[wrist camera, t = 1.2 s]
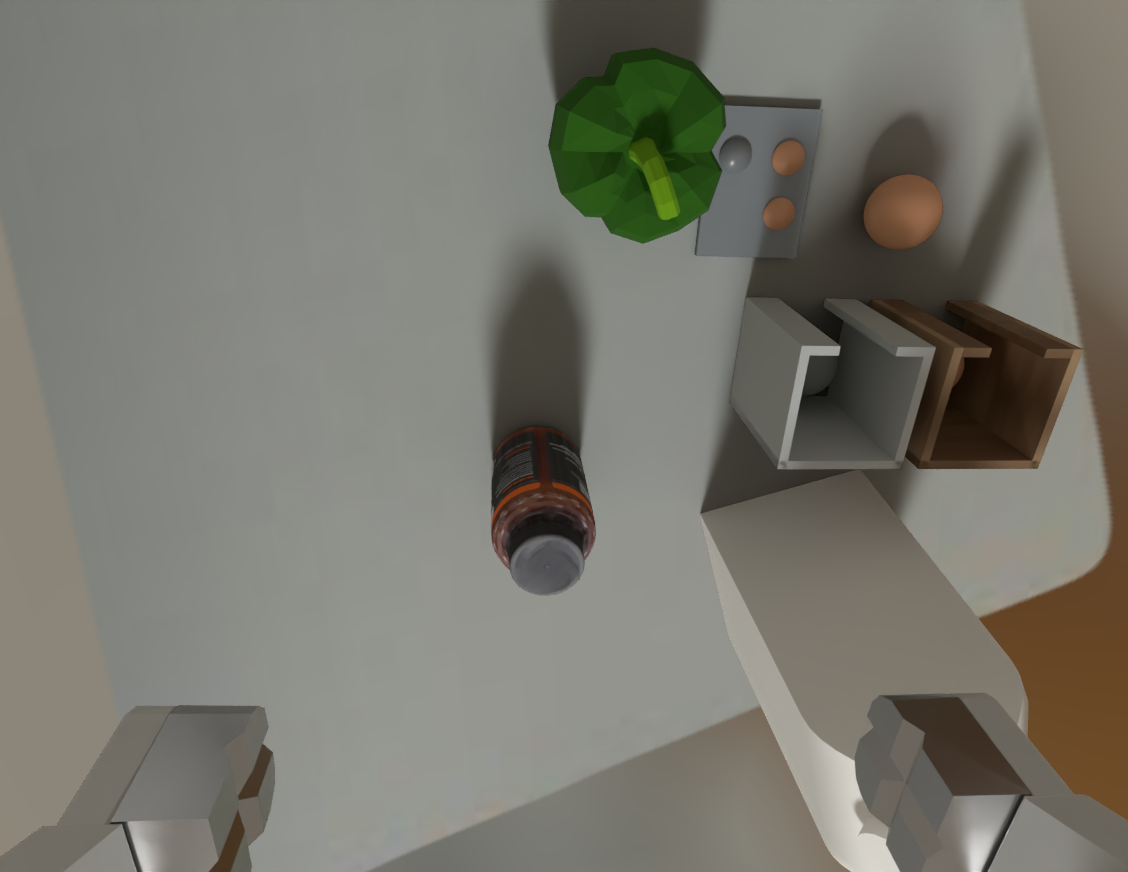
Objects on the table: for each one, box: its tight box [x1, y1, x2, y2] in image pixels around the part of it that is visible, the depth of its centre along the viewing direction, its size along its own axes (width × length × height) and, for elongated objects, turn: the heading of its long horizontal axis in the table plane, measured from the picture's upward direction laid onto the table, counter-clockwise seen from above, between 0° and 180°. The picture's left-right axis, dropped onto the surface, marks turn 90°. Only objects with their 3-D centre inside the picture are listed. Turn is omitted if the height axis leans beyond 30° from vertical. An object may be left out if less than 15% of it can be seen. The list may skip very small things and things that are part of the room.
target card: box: [695, 105, 823, 258], centre depth 40 cm, size 8×6×1 cm
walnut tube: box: [870, 300, 1083, 469], centre depth 42 cm, size 7×7×9 cm
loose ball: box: [864, 175, 943, 249], centre depth 40 cm, size 4×4×4 cm
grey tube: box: [729, 297, 936, 469], centre depth 41 cm, size 7×7×9 cm
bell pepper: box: [548, 48, 726, 244], centre depth 34 cm, size 8×8×10 cm
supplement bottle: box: [491, 427, 596, 596], centre depth 42 cm, size 6×6×11 cm
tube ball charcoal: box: [802, 355, 838, 396], centre depth 43 cm, size 4×4×4 cm
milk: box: [700, 469, 1028, 872], centre depth 41 cm, size 12×12×26 cm
